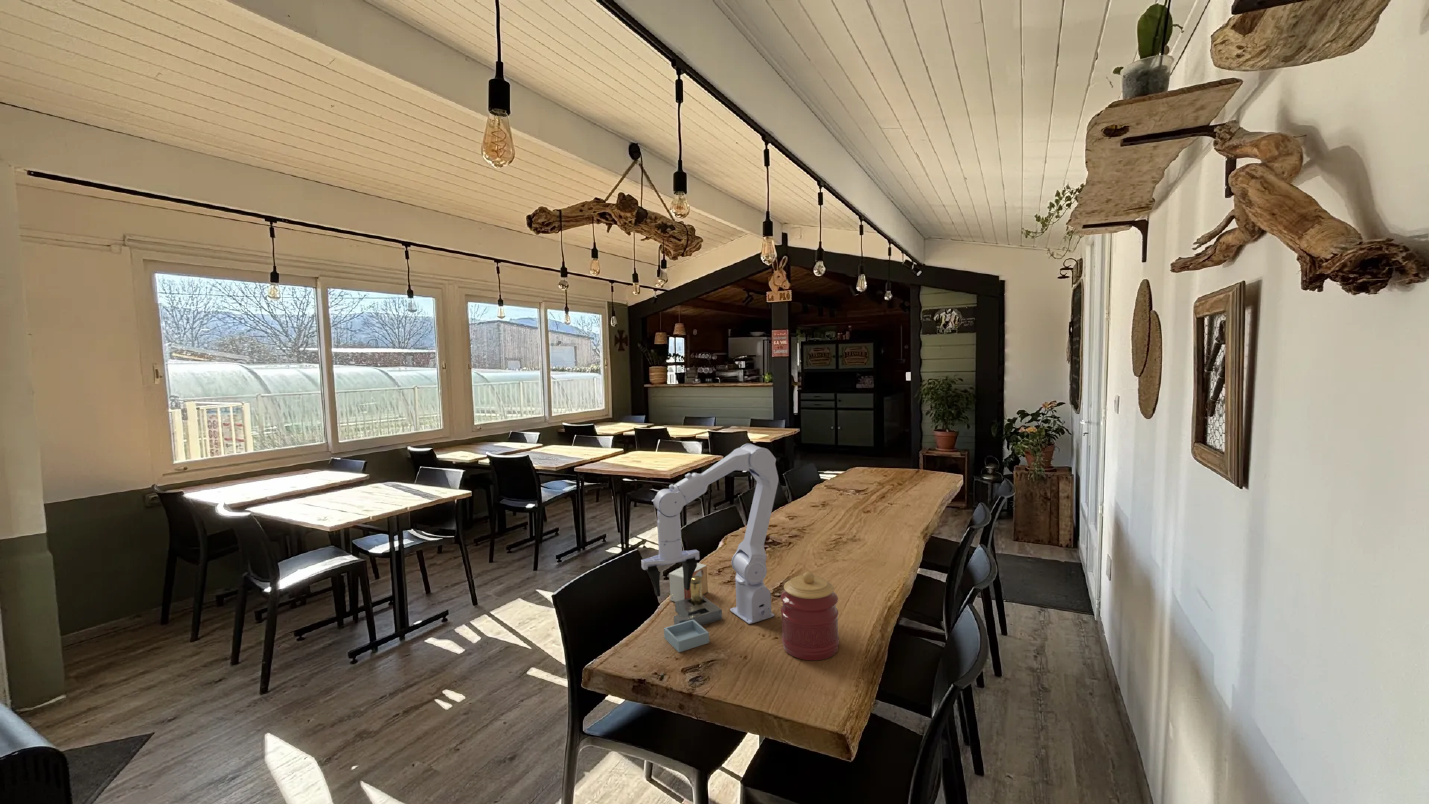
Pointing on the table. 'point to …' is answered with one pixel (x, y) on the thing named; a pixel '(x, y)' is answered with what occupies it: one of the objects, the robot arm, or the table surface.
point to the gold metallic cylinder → (696, 590)
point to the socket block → (699, 610)
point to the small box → (678, 583)
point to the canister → (809, 617)
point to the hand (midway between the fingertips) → (672, 591)
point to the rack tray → (686, 635)
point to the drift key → (683, 618)
